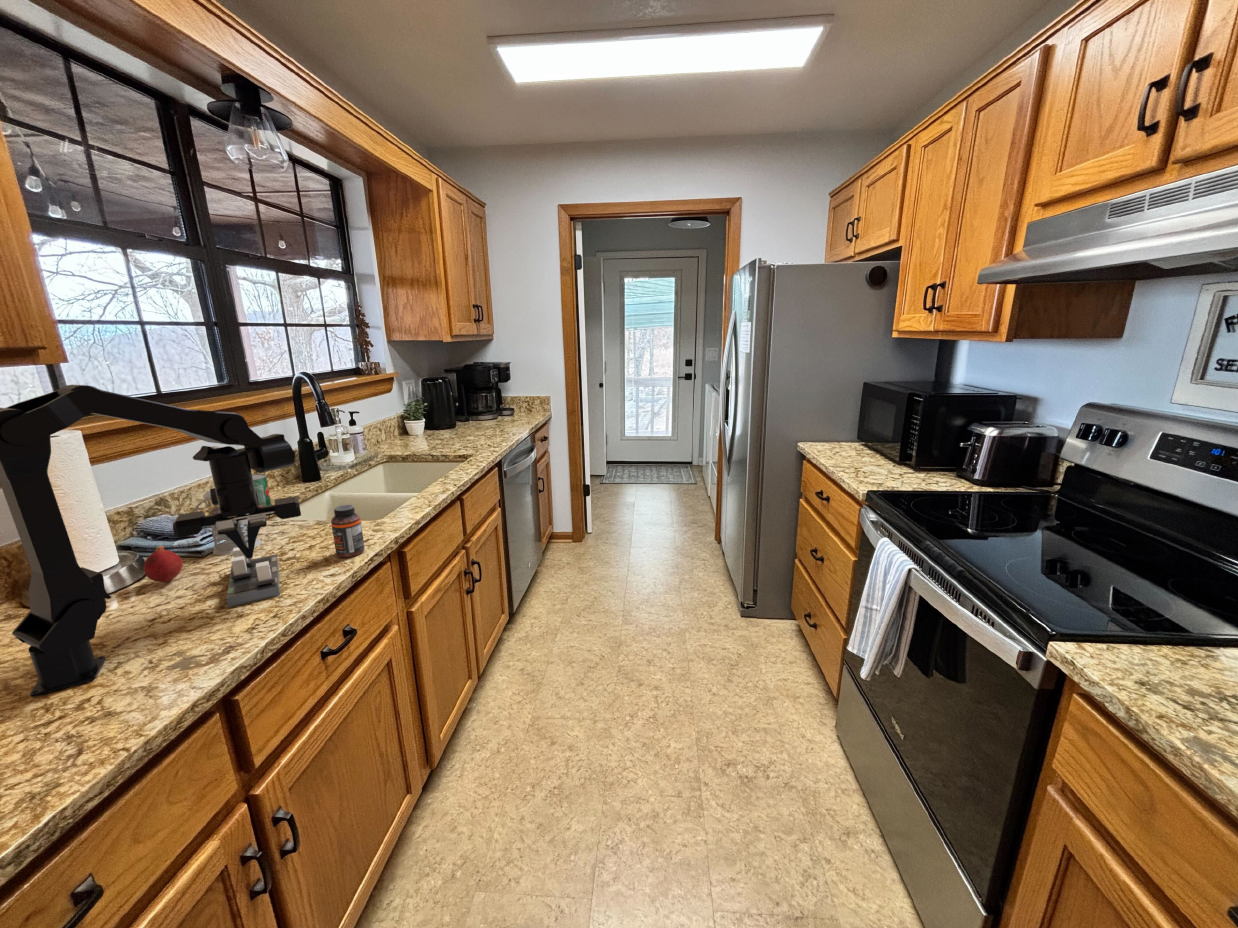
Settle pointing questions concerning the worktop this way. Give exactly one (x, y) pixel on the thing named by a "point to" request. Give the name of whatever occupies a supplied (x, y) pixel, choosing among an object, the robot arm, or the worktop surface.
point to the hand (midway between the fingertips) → (250, 557)
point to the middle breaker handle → (239, 568)
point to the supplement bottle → (347, 532)
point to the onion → (162, 565)
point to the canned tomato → (262, 489)
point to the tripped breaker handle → (264, 574)
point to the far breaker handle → (238, 553)
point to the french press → (227, 545)
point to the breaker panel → (253, 584)
